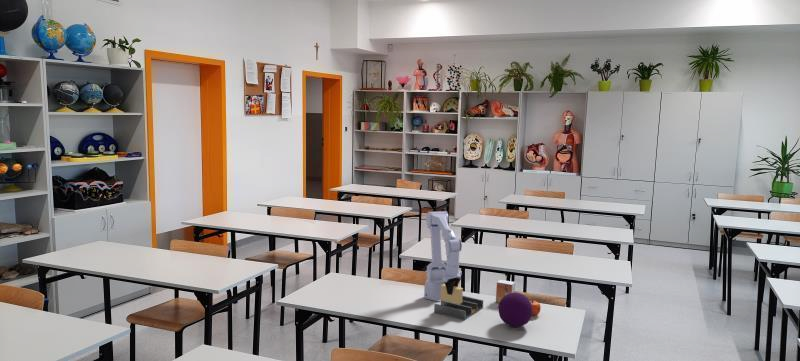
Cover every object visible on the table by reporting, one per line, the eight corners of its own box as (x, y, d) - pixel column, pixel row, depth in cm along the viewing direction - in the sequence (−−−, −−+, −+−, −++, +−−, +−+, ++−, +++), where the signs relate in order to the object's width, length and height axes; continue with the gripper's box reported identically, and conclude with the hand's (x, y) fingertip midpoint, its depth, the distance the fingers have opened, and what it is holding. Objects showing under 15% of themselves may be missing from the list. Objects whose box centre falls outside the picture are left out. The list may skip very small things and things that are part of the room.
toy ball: (532, 321, 260) (534, 289, 258) (531, 334, 246) (533, 300, 244) (498, 318, 264) (500, 286, 262) (496, 330, 250) (497, 297, 248)
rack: (434, 312, 269) (434, 304, 269) (453, 301, 285) (453, 293, 284) (464, 320, 260) (464, 311, 260) (482, 308, 276) (483, 300, 276)
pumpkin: (522, 316, 267) (523, 301, 266) (524, 310, 274) (525, 295, 273) (539, 318, 264) (540, 303, 263) (540, 312, 272) (541, 297, 271)
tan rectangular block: (440, 299, 269) (440, 285, 268) (443, 298, 271) (444, 283, 271) (459, 304, 263) (459, 289, 262) (462, 302, 266) (462, 288, 265)
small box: (495, 302, 285) (496, 282, 283) (498, 299, 290) (499, 279, 288) (511, 305, 281) (512, 284, 280) (514, 302, 286) (515, 281, 285)
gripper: (452, 270, 257) (451, 299, 259) (467, 262, 269) (466, 290, 271) (438, 267, 261) (438, 295, 263) (454, 260, 273) (453, 287, 275)
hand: (451, 293), depth 267 cm, fingers closed on tan rectangular block, 3 cm apart
